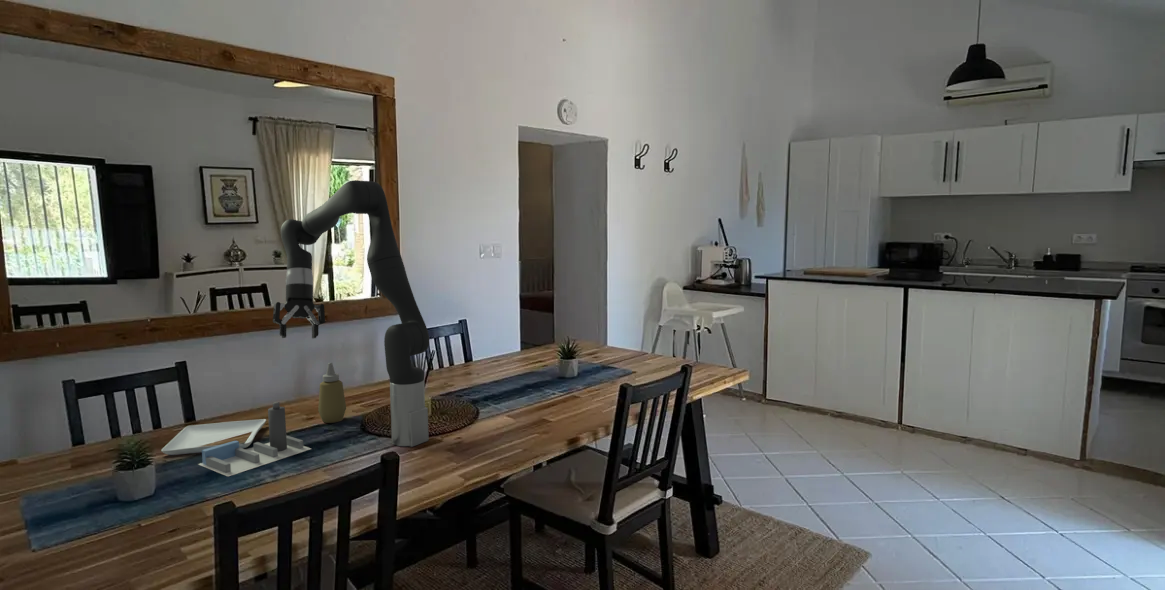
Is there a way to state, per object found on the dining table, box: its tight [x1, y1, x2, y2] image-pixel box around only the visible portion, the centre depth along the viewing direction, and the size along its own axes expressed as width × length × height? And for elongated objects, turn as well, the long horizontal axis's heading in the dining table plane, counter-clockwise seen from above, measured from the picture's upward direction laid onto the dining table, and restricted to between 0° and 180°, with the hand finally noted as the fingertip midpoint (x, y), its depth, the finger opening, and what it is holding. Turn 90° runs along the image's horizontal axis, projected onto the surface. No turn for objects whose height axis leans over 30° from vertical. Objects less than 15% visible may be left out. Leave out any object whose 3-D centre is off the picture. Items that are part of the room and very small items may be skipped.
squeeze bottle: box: [317, 362, 347, 424], centre depth 195 cm, size 8×8×18 cm
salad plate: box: [161, 418, 267, 456], centre depth 176 cm, size 21×21×3 cm
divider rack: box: [197, 434, 312, 477], centre depth 163 cm, size 14×22×4 cm, turn 147°
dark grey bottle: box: [267, 401, 287, 452], centre depth 168 cm, size 4×4×13 cm
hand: (299, 337), depth 190 cm, fingers open, 8 cm apart
